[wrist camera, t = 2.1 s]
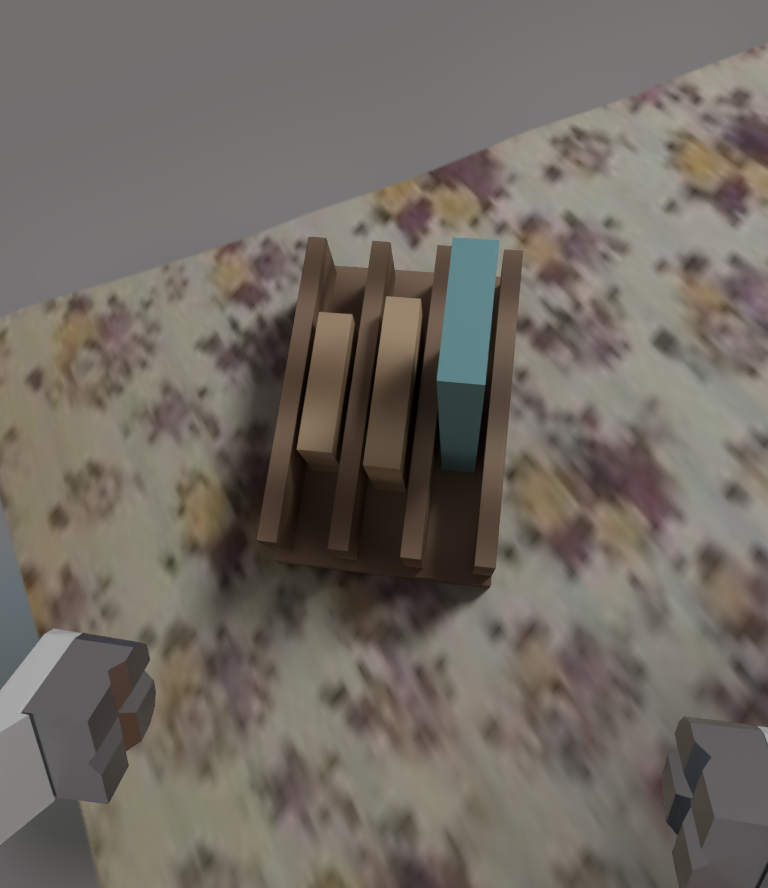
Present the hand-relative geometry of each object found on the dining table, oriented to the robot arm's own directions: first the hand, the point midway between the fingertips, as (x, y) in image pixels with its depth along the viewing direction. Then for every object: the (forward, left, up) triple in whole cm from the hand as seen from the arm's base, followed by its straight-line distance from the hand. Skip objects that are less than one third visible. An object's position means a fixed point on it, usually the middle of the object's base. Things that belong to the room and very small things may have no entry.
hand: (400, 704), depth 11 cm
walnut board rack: (-5, -13, -29) cm, 32 cm away
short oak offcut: (-5, -13, -28) cm, 31 cm away
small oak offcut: (-2, -15, -28) cm, 32 cm away
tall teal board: (-8, -11, -28) cm, 31 cm away
